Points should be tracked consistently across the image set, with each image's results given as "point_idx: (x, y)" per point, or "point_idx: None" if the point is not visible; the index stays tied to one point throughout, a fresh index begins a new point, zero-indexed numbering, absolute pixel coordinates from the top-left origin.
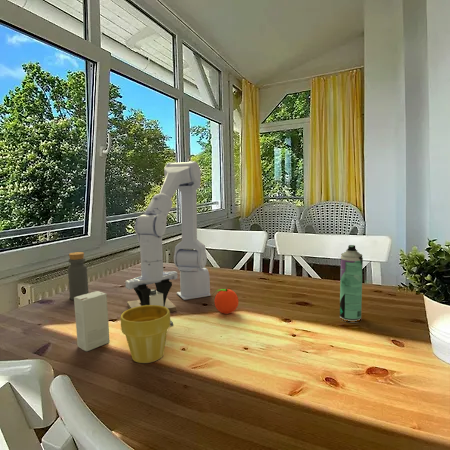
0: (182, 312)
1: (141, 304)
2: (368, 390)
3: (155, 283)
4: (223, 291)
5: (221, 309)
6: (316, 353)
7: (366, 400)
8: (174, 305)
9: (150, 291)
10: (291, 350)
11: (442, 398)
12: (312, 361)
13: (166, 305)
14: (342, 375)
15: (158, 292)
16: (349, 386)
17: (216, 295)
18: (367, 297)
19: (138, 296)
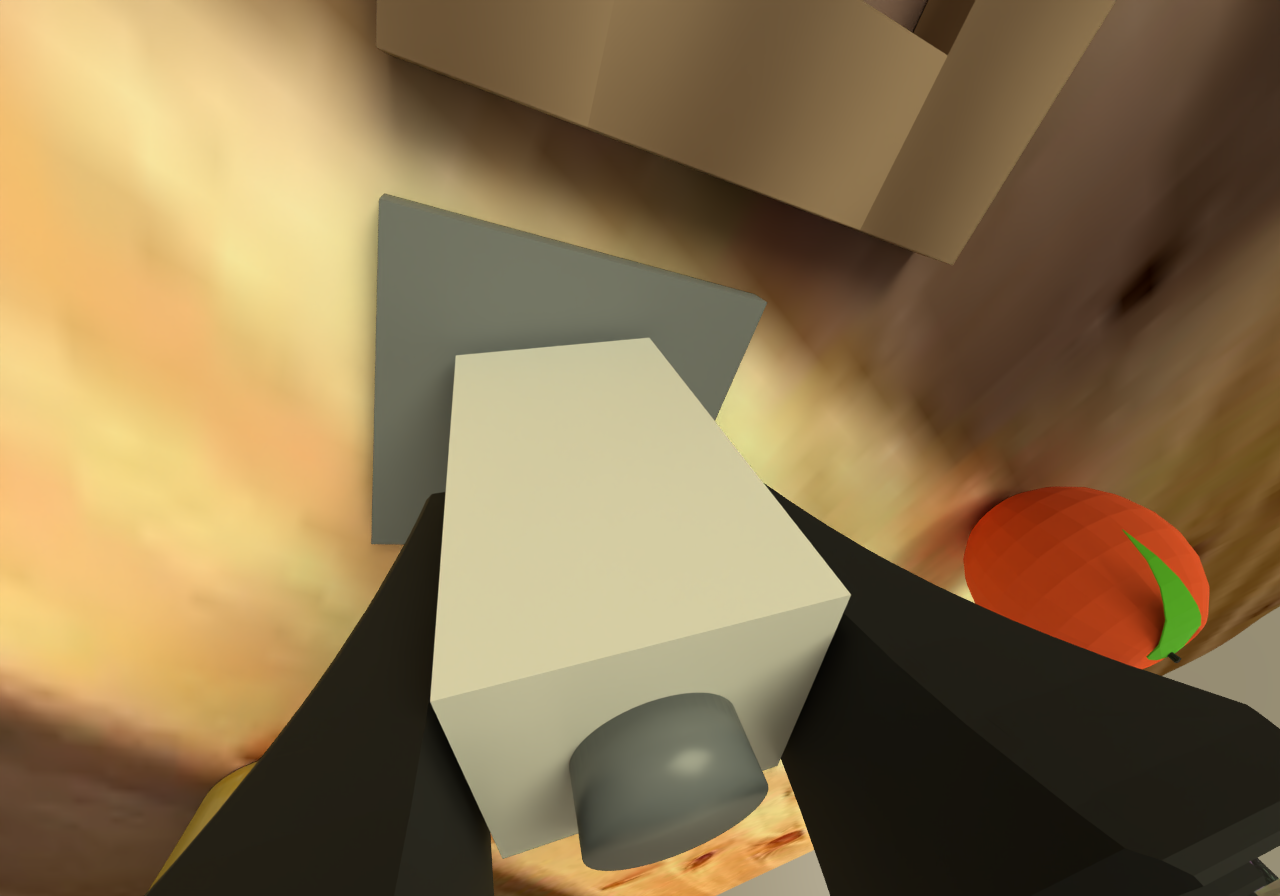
0: (904, 332)
1: (388, 575)
2: (715, 871)
3: (1046, 813)
4: (1133, 661)
5: (969, 582)
6: (793, 799)
7: (685, 885)
8: (994, 193)
9: (604, 865)
10: (774, 788)
11: (760, 874)
12: (751, 819)
13: (964, 96)
14: (734, 848)
15: (775, 718)
16: (706, 867)
17: (1098, 607)
18: (1239, 603)
19: (267, 774)
